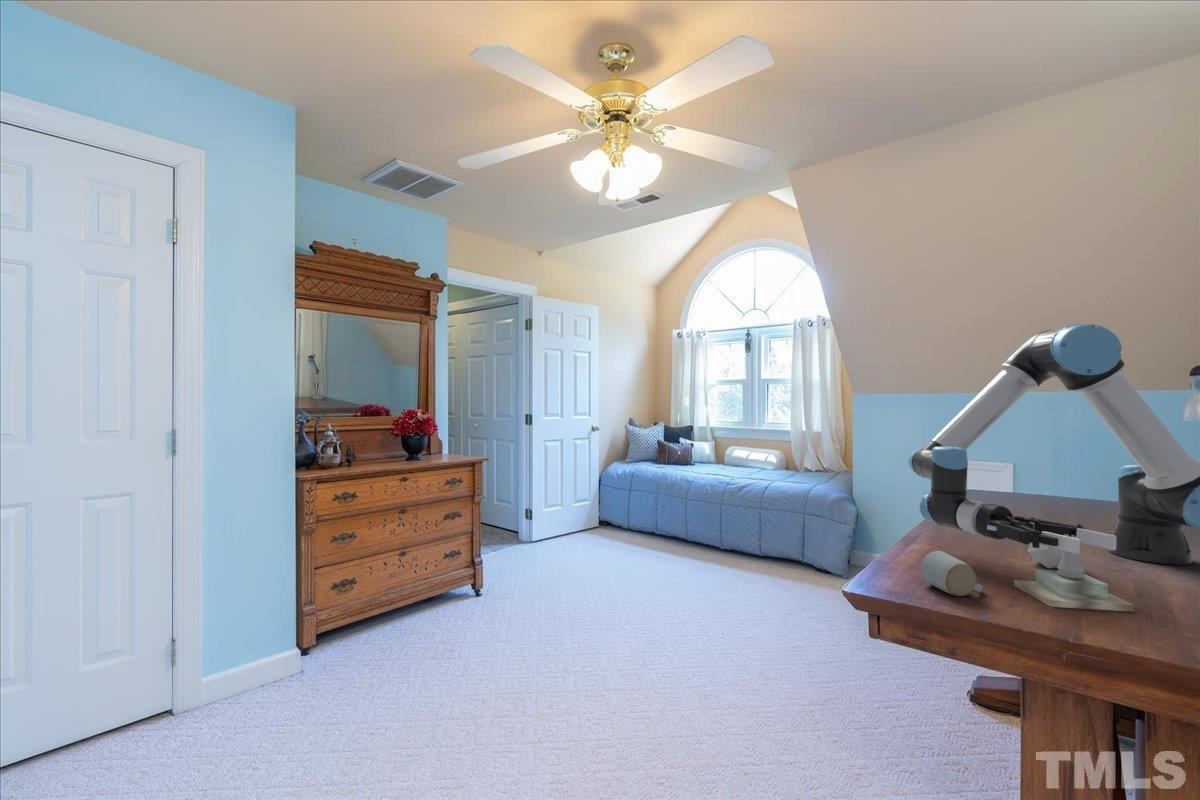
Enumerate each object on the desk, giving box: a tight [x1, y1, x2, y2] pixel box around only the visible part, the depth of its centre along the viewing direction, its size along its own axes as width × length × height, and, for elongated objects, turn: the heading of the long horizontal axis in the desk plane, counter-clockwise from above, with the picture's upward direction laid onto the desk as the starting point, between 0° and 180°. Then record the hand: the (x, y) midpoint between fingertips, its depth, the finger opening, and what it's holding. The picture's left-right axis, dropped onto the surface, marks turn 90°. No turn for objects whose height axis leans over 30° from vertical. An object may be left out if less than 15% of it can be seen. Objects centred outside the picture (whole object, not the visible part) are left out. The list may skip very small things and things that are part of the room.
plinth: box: [1013, 569, 1135, 612], centre depth 112 cm, size 14×12×4 cm
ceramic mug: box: [920, 550, 984, 597], centre depth 115 cm, size 10×8×7 cm
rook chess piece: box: [1056, 535, 1086, 579], centre depth 112 cm, size 4×4×8 cm
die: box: [1026, 543, 1063, 569], centre depth 133 cm, size 8×9×10 cm
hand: (1097, 544), depth 108 cm, fingers open, 9 cm apart
